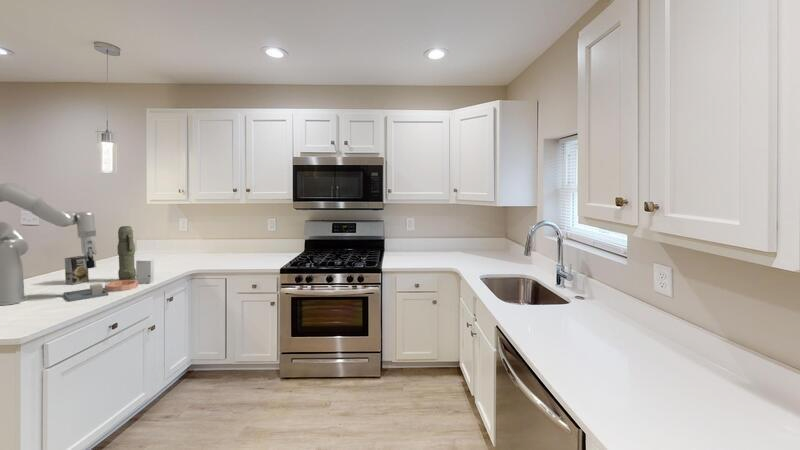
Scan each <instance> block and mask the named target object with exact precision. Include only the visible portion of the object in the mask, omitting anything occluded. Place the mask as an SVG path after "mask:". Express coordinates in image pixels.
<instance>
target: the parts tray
mask: <svg viewBox="0 0 800 450" xmlns="http://www.w3.org/2000/svg"><path fill="white" fill-rule="evenodd" d="M107 296H109V291H106V290H105V288H103V293H101V294H95V295H91V294H90V288H87V289H85V288H84V289H78V290H72V291H65V292H63V297H64V298H65V299H66V300H67V301H69V302H76V301H81V300H87V299H88V300H89V299H95V298H101V297H107Z"/></svg>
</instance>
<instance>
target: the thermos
mask: <svg viewBox="0 0 800 450" xmlns="http://www.w3.org/2000/svg"><path fill="white" fill-rule="evenodd" d="M117 237H118V238H117V239H118V240H117V241H118V244H117V246H116V247H117V248H116V249H117V255H118V272H117V274H118V281H120V280H136V265H135V252H136V247H135V243H134V231H133V228H132V226H130V225H129V226H127V225H125V226H124V225H123V226H120V227H118V231H117Z"/></svg>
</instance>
